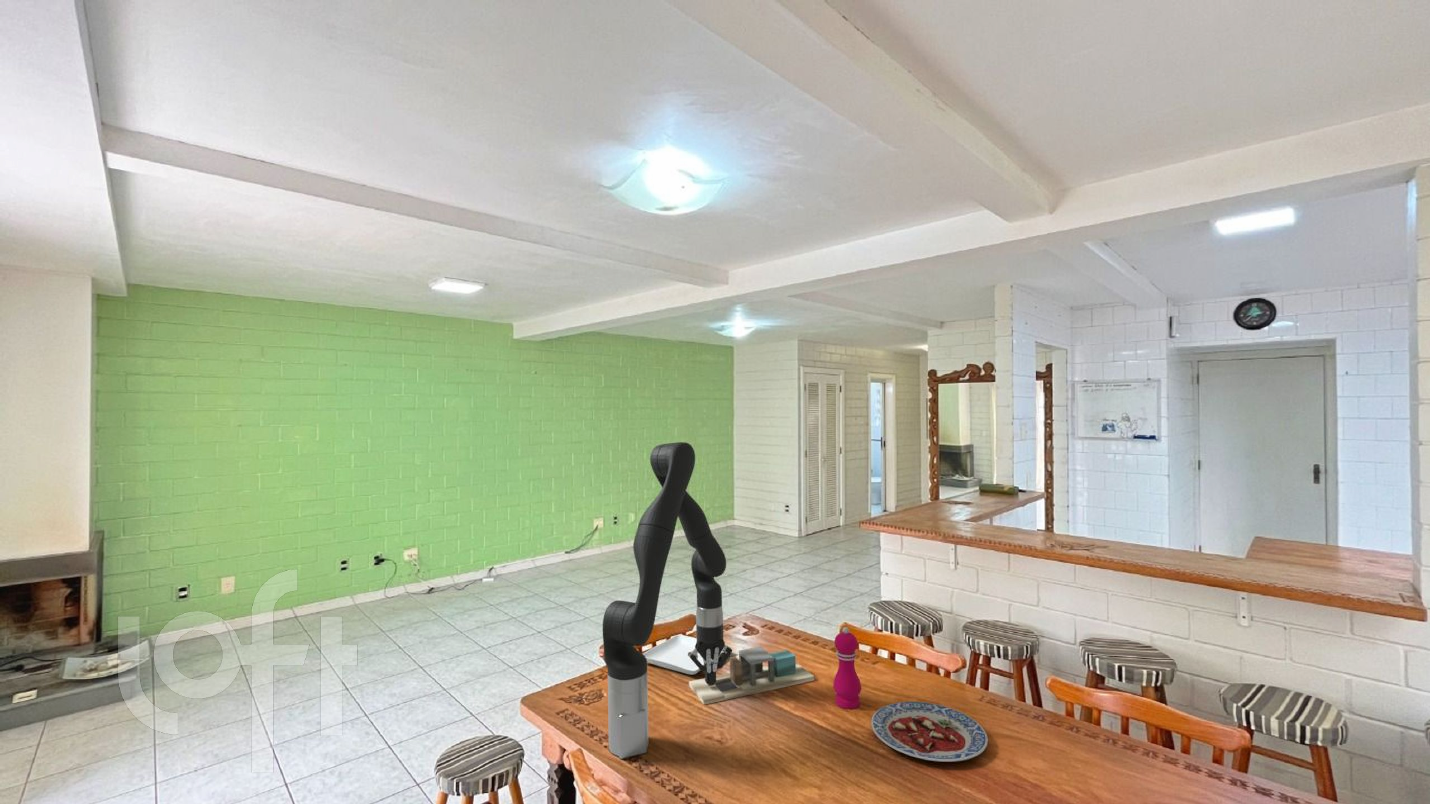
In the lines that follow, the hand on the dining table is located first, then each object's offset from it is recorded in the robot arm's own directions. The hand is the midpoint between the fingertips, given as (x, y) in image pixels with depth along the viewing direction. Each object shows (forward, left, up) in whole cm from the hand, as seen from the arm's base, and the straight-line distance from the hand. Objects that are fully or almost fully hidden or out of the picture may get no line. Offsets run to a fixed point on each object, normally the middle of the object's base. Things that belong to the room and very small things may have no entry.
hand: (710, 684), depth 162 cm
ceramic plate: (-42, -39, -3) cm, 57 cm away
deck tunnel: (0, -14, -2) cm, 14 cm away
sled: (0, -16, -1) cm, 16 cm away
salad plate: (+23, -1, -3) cm, 24 cm away
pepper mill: (-21, -31, -2) cm, 37 cm away
